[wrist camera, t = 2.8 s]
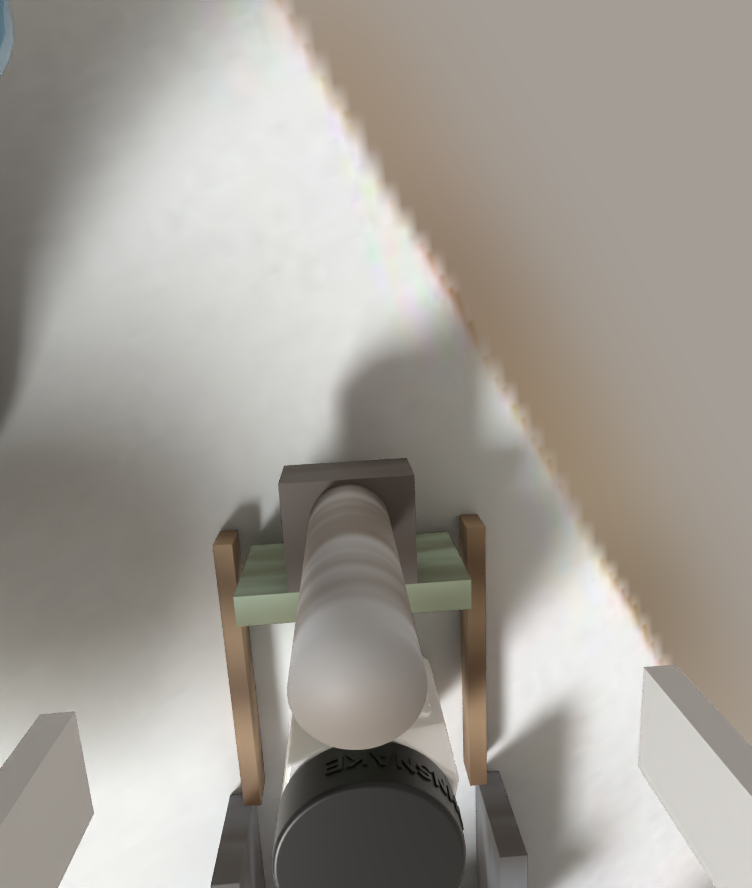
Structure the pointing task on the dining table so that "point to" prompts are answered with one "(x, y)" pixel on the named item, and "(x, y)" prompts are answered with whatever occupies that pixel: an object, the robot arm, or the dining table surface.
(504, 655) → the dining table surface
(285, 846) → the jar
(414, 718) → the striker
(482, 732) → the lane
